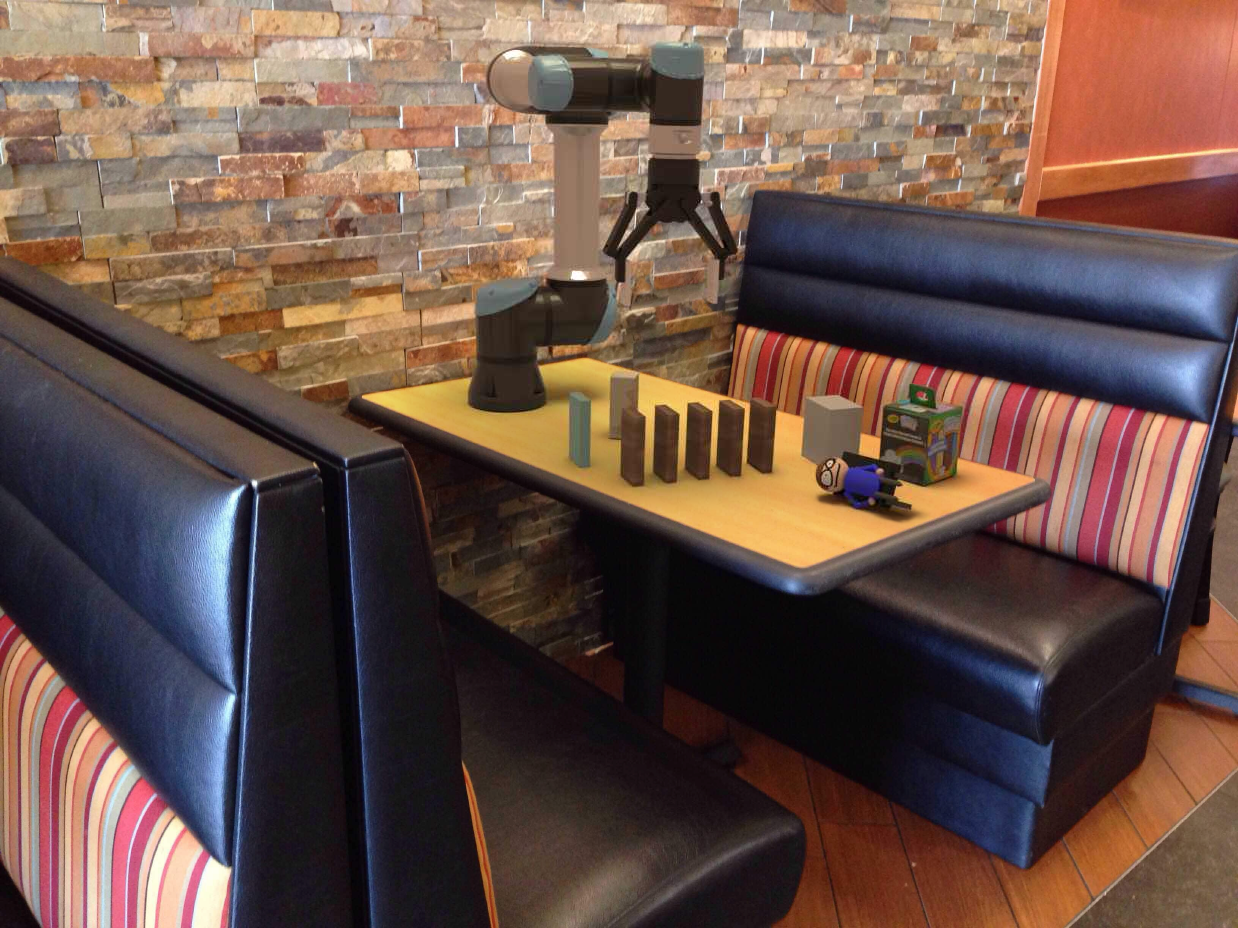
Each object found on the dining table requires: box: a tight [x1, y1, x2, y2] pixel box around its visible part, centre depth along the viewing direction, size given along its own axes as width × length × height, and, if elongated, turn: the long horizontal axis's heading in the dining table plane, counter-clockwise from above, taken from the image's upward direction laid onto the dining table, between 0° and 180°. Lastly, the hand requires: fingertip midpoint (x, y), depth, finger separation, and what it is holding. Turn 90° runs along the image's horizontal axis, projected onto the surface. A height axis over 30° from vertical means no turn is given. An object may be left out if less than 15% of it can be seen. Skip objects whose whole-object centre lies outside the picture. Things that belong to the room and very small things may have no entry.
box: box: [608, 370, 640, 440], centre depth 191 cm, size 5×4×11 cm
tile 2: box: [652, 404, 681, 484], centre depth 170 cm, size 2×6×11 cm, turn 20°
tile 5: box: [746, 396, 777, 475], centre depth 176 cm, size 2×6×11 cm, turn 20°
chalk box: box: [878, 382, 964, 487], centre depth 174 cm, size 9×9×15 cm
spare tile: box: [568, 391, 592, 468], centre depth 177 cm, size 2×6×11 cm, turn 20°
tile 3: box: [684, 401, 714, 481], centre depth 172 cm, size 2×6×11 cm, turn 20°
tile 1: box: [619, 407, 647, 488], centre depth 169 cm, size 2×6×11 cm, turn 20°
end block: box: [800, 394, 864, 466], centre depth 180 cm, size 8×6×10 cm
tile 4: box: [715, 399, 746, 478], centre depth 174 cm, size 2×6×11 cm, turn 20°
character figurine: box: [815, 451, 918, 511], centre depth 161 cm, size 8×7×15 cm
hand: (669, 303), depth 165 cm, fingers open, 13 cm apart
